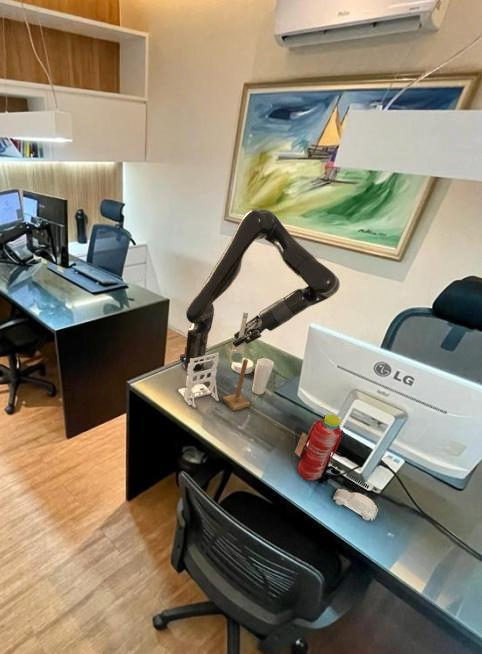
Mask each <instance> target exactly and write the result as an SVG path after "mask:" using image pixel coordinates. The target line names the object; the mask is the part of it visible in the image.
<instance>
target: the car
mask: <svg viewBox="0 0 482 654" xmlns="http://www.w3.org/2000/svg"><path fill="white" fill-rule="evenodd" d="M333 500H335V504H336V505H338V506H345V507H346V508H348V509H350V510H351V511H353V512H355V513H356V514H358V515H360V516H361V517H362V519H363V520H364V521H373V520H375V519H376V517H377V514H378V512H379V508H378V507H377V505H376V504H375V502H374V501H373V500H372V499H371V498H370V497H368V496H366V495H364V494H362V493H360V492H350V491H348V490H346V489H343V488H338V489H337V490H336V492H335V494H334V495H333Z"/></svg>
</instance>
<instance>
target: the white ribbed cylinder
mask: <svg viewBox="0 0 482 654" xmlns="http://www.w3.org/2000/svg"><path fill="white" fill-rule="evenodd" d="M244 359H247V360H248V363H247V367H246V372H245V375H248V374H251V373H252V372H253V370H254V367H255V365H254V362H253V361H252V360H251V359H249V358H246V357H243V360H244ZM242 364H243V361H242V363H236V362H231V369H232V371H233V372H235V373H237V374H240V373H241V368H242Z"/></svg>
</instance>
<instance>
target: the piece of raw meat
mask: <svg viewBox="0 0 482 654" xmlns="http://www.w3.org/2000/svg"><path fill="white" fill-rule="evenodd" d="M339 417H340V416H337V415H336V416H335V415H332V414H328V415H326V416H325V418H324V417H323V419H320V420H316V421H313V423H312V424H311V427H310V429H309V431H308V433H305V432H302V433H301V435H300V438H299V441H298V443H297V445H296V446H295V447H296V448H295V450H294V454H296V456H298V457H300V460H299V462H298V463H299V464H298V467H297V468H298V469H297V470H298V473H299V476H300V477H302V479H304V480H305V481H309V482H314V481H316V480H318V479H320V478H321V477H322V475H323V473H324V471H325V468H326V466H327V463H328V464H331V462H332V460H333V457H334V455H335V454H336V451H337V450H338V447H339V445H340V442H341V440H342V429H340V427H341V426H340V425H341V420H340V418H341V417H340V418H339ZM301 457H302V458H301Z"/></svg>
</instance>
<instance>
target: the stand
mask: <svg viewBox="0 0 482 654" xmlns="http://www.w3.org/2000/svg"><path fill="white" fill-rule="evenodd" d="M247 359H248V358H246V359H244V360H243V364H242V368H241V373H239V377H238V382H237V386H236V391H235V393H233V394H229V395H226V396H223V397H222V401H223V402H224V403H225V404H226V405H227V406H228V407H229V408H230V409H231V410H233V411H238V410H241V409H244V408H247V407H250V406H251V403H250V401H248V400H247V399H246V398H245V397H244V396H243V395H241V392H242V389H243V384H244V380H245V375H246V374H245V372H246V367H247V363H248V360H247Z"/></svg>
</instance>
